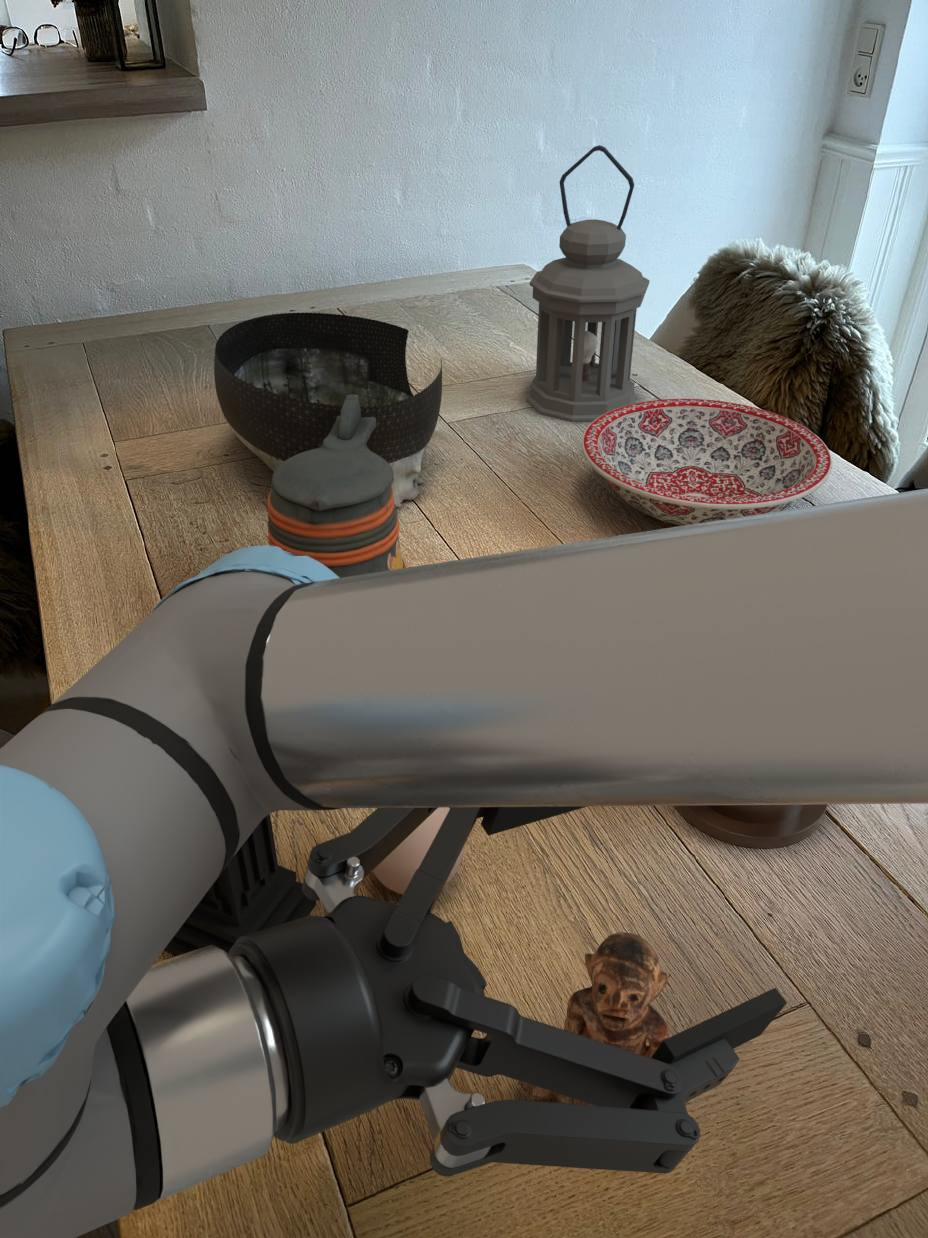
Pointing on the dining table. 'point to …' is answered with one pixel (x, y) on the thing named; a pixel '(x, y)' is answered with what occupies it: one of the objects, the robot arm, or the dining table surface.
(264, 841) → the chess piece
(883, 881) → the dining table surface
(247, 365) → the basket
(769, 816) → the pedestal
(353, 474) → the tankard
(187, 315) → the dining table surface
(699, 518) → the ceramic bowl
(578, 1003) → the figurine
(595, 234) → the lantern
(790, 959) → the dining table surface
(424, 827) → the egg
